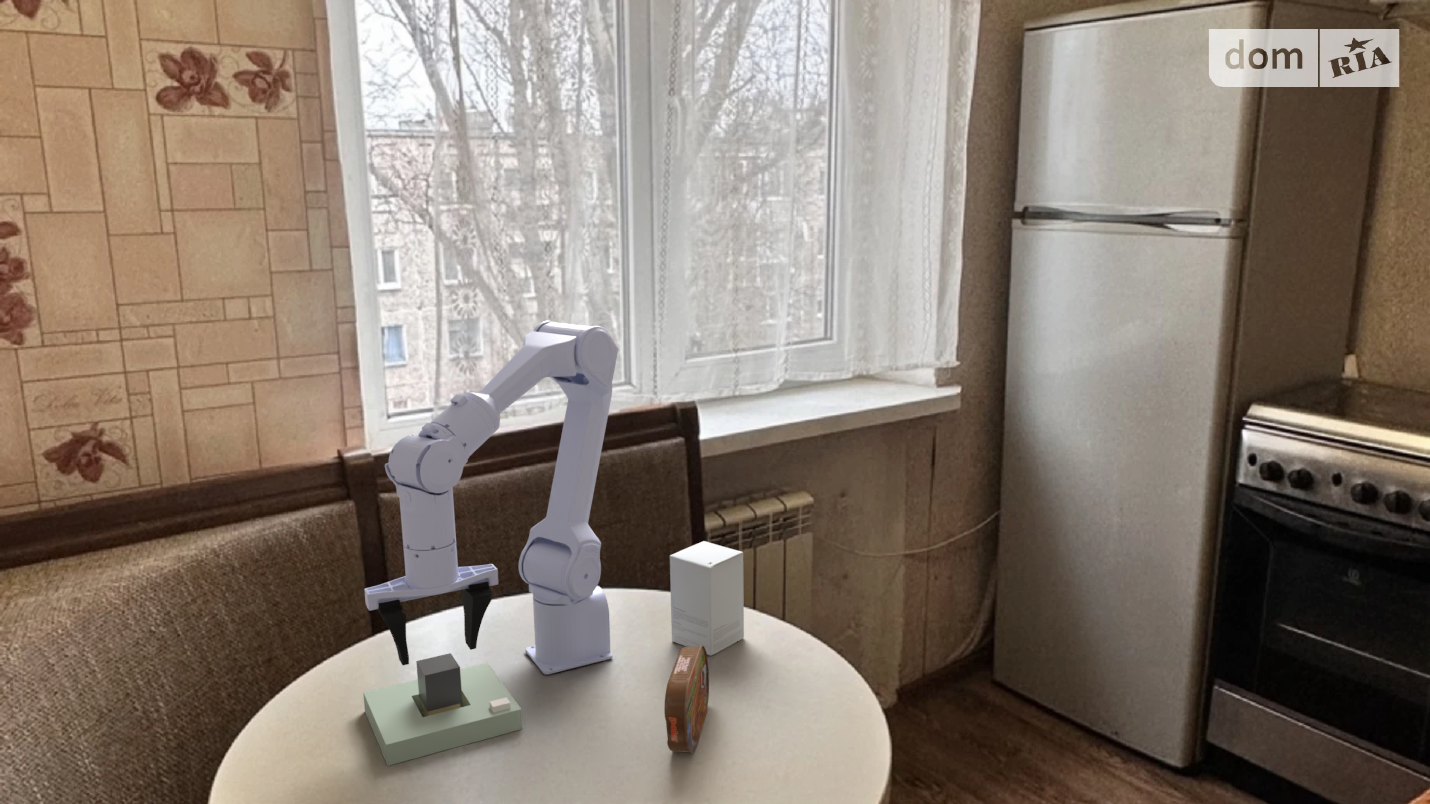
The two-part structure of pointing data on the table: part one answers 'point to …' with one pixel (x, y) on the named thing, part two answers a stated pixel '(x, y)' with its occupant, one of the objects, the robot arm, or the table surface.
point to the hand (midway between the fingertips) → (438, 653)
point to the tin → (687, 699)
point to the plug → (439, 684)
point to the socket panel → (440, 716)
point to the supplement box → (707, 596)
